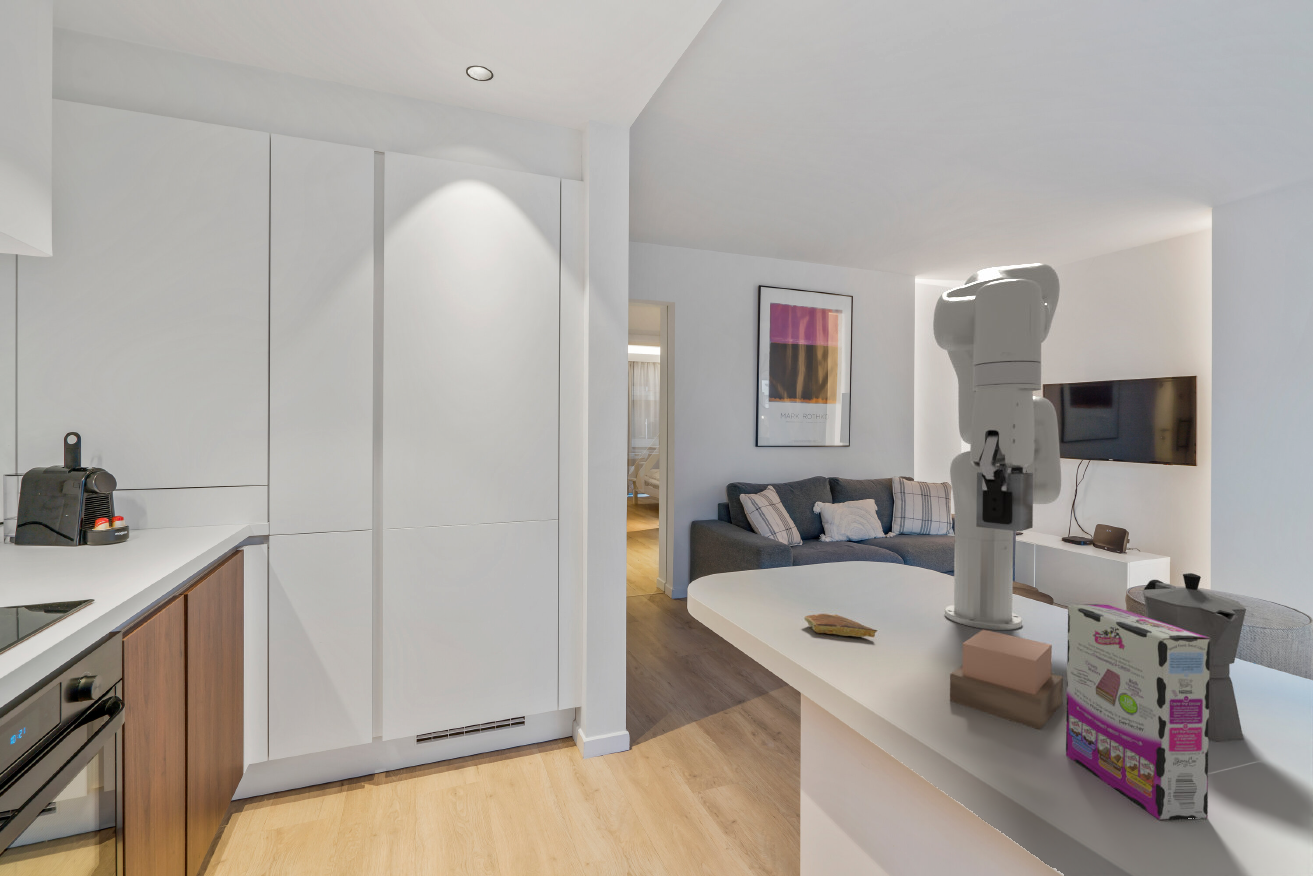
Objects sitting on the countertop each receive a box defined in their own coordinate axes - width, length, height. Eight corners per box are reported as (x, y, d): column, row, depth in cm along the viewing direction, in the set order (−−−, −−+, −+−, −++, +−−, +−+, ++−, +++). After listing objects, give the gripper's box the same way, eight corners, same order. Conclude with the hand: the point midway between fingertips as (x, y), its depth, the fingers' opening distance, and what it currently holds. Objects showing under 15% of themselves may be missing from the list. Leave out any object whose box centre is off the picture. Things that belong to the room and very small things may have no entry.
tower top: (982, 658, 81) (983, 629, 81) (1051, 675, 75) (1051, 644, 75) (962, 674, 75) (962, 643, 75) (1034, 694, 70) (1035, 660, 70)
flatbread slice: (877, 639, 97) (877, 628, 97) (840, 645, 94) (840, 634, 94) (834, 621, 107) (834, 611, 107) (799, 626, 104) (799, 616, 104)
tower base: (977, 683, 82) (978, 654, 82) (1062, 707, 75) (1062, 676, 75) (949, 704, 76) (950, 673, 76) (1040, 734, 68) (1040, 699, 68)
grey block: (989, 523, 79) (990, 471, 79) (1032, 527, 75) (1033, 473, 75) (976, 526, 76) (976, 472, 76) (1020, 531, 72) (1020, 474, 72)
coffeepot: (1282, 759, 63) (1285, 590, 63) (1179, 747, 65) (1181, 584, 65) (1187, 696, 78) (1189, 560, 78) (1105, 689, 80) (1107, 556, 80)
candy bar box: (1212, 821, 52) (1215, 637, 52) (1160, 824, 52) (1163, 638, 52) (1106, 753, 63) (1108, 601, 63) (1062, 755, 63) (1064, 602, 63)
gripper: (996, 385, 84) (995, 512, 84) (949, 376, 73) (947, 523, 73) (1058, 382, 79) (1057, 518, 79) (1018, 371, 67) (1016, 531, 67)
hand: (1004, 519), depth 76 cm, fingers closed on grey block, 5 cm apart
